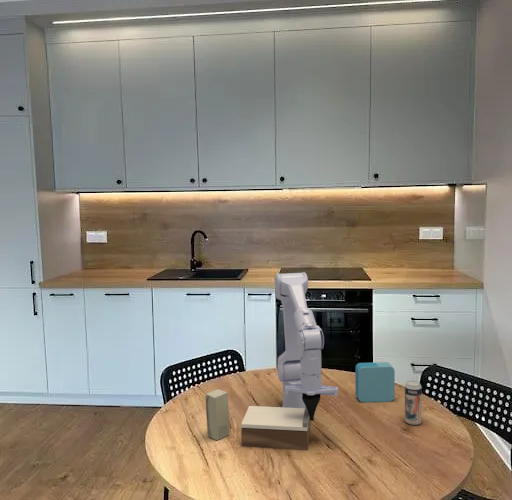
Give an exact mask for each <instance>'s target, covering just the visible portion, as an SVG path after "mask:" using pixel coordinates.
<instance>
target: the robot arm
mask: <svg viewBox="0 0 512 500" xmlns="http://www.w3.org/2000/svg"><path fill="white" fill-rule="evenodd" d="M308 289H309V278H308V274H307V273H306V271H303V272H291V273H289V272H287V273H276V274H275V276H274V291H275V292H274V293H275V299H277V300H279V301H280V302H281V305H282V318H283V332H284V333H283V334H284V346H285V350H284V351H283V352H282V353H281V354H280V355H279V356H278V357H277V365H276V367H277V368H276V369H277V370H276V371H277V372H276V373H277V379H278V381H280V382H281V383H282V401H283V402H282V405H281V407H285V408H305V406H306V408H307V410H308V413H309V417H310V422H312V421H315V420H314V419H315V413H316V410H317V407H318V405H319V402H320V400H321V396H333V397H338V396H339V388H338V386H330V385H326V384H322V350H324V346H325V335H324V333H323V329H322V328H321V327H320V325H317V322H316V318H315V316H314V312H313V310H312V309H310V308H309V307H308V304H307V299H306V298H307V297H306V293H307V290H308Z"/></svg>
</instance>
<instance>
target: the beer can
mask: <svg viewBox="0 0 512 500" xmlns="http://www.w3.org/2000/svg"><path fill="white" fill-rule="evenodd" d="M422 388H423V387H422V385H421V383H420V382H418V381H415V380H409V381H406V383H405V385H404V421H405V423H406V424H409V425H411V426H418V425H420V424H422V423H423V422H422V401H423V400H422V397H423V396H422V395H423V394H422V390H423V389H422Z"/></svg>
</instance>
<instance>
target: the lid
mask: <svg viewBox="0 0 512 500" xmlns="http://www.w3.org/2000/svg"><path fill="white" fill-rule="evenodd" d="M308 422H309V413H308V410H307V408H306V406H305V408H285V407H282V406H281V407H280V406H262V405H261V406H259V405H249V406H248V408H247V410H246V412H245V415H244V417H243V419H242V421H241V424H240V427H241V429H242V428H258V429H277V430H295V431H307V429H308Z"/></svg>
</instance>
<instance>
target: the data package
mask: <svg viewBox="0 0 512 500" xmlns="http://www.w3.org/2000/svg"><path fill="white" fill-rule="evenodd" d="M395 392H396V391H395V368H394V367H393V366H392V365H391V363H390V362H387V361H385V362H382V361H381V362H380V361H379V362H377V361H376V362H358V363H357V364H356V365H355V395H356V397H357V399H358V400H359V402H361V403H380V402H381V403H383V402H384V403H385V402H387V403H389V402H392V401H394V399H395V397H396V396H395Z"/></svg>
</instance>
